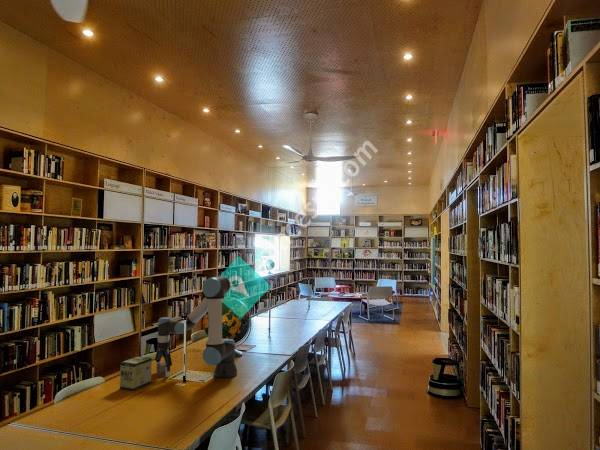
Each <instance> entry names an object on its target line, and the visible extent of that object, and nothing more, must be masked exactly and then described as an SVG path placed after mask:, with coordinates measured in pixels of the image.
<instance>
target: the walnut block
mask: <svg viewBox="0 0 600 450" xmlns="http://www.w3.org/2000/svg"><path fill="white" fill-rule="evenodd" d="M156 375H157V376H158V377H166V363H165V361H164V362H161V363H158V364H157V372H156Z"/></svg>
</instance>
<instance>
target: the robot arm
mask: <svg viewBox="0 0 600 450" xmlns="http://www.w3.org/2000/svg"><path fill="white" fill-rule="evenodd" d="M231 285H232V284H231V281H230V279H229V278H227V277H226V276H223V275H221V276H213V277H209V278H207V279H205V280H204V282H203V283H202V288H201V289H202V293H203V295H204V296H205V297H204V298H203V299H202V301H200V303H199V304H197V306H196V307H194V309H193V310H192V311H191V312H190V314H188V315H187V316H186V318H187V319H186V318H185V319H186V332H187V331H189V330H190V331H191V330H192V329H195V328H196V326H197V323H198V322H199V321H200V320H201V319H203V317H204V316H205V314H206V313H208V315H207V321H208V323H207V325H208V327H207V328H208V329H207V331H208V332H207V333H208V339H207V341H206V342H205V348H204V350H203V351H202V359H203V361H204V363H206V365H208V366H214V370H213V376H214V377H216V378H220V379H226V378H233V377H236V376H237V375H238V369H237V366H236V362H235V355H236V354H235V353H236V352H235V351H236V344H235V342H236V341H235V340H234V339H232V338H223V300H224V299H225V296H226V294H228V293H229V291H230V289H231ZM171 334H177V335H184V334H185V333H184V319H182V320H177V321H171V318H170V317H166V316H163V317H160V318H158V320H157V348H156V353H155V357H154V361H155V363H156V365H155V368H156V369H155V372H156V373H157V364H158V363H162V362H161V361H162V358H163V359H164V362H165V363H166V376H165V378H167V377H171V367H172V366H173V362H172V358H171V357H172V356H171V350H169V349H168V348H170V346H171V344H170V338H171Z"/></svg>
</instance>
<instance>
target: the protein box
mask: <svg viewBox="0 0 600 450" xmlns="http://www.w3.org/2000/svg"><path fill="white" fill-rule="evenodd" d="M152 360H153V359H152V358H151V357H146V356H136V357H133V358H129V359H127V360H124V361H122V362H120V370H119V371H120V372H119V389H120V390H124V391H131V392H132V391H133V392H134V391H137V390H139V389H142V388H144V387H146V386H149V385H150V384H152V362H153V361H152Z"/></svg>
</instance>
